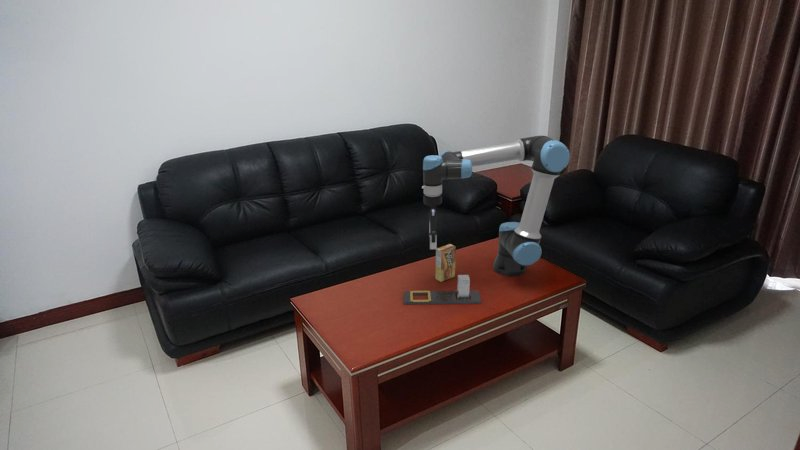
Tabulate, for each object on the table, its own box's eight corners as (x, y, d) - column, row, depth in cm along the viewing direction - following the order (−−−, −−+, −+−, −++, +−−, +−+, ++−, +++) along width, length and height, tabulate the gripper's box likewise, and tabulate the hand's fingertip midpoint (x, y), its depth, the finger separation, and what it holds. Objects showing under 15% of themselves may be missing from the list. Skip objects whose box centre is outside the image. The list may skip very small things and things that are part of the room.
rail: (478, 293, 212) (478, 290, 212) (481, 303, 204) (481, 300, 203) (403, 293, 213) (403, 290, 212) (403, 304, 204) (403, 301, 204)
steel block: (467, 295, 210) (468, 274, 207) (469, 301, 206) (469, 279, 203) (457, 295, 210) (457, 274, 207) (458, 301, 206) (458, 279, 203)
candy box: (448, 273, 230) (449, 243, 225) (455, 276, 227) (456, 246, 222) (435, 279, 225) (435, 248, 220) (441, 282, 222) (441, 251, 216)
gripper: (423, 185, 211) (423, 231, 219) (423, 204, 188) (424, 254, 196) (440, 185, 211) (440, 231, 219) (443, 203, 188) (443, 254, 195)
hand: (432, 242), depth 207 cm, fingers open, 13 cm apart
